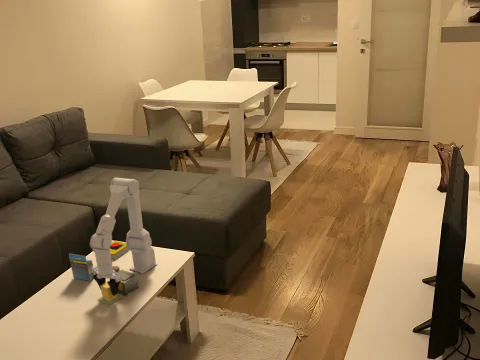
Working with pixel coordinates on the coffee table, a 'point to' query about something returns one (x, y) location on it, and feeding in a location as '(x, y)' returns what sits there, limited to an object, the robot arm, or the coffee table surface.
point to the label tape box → (81, 267)
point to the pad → (111, 300)
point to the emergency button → (118, 249)
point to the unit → (127, 282)
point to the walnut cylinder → (116, 268)
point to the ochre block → (107, 292)
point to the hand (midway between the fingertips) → (109, 292)
